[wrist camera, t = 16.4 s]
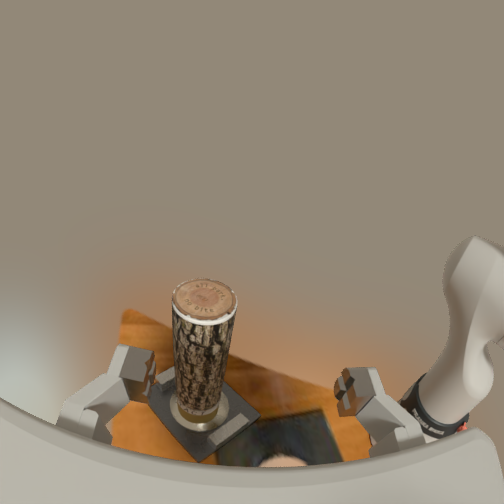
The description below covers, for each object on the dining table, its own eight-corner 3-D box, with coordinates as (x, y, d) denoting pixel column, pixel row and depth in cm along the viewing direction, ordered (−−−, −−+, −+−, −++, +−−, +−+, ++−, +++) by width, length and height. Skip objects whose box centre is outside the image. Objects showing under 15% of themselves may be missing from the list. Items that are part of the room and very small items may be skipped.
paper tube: (194, 385, 45) (201, 270, 33) (226, 406, 43) (250, 297, 30) (169, 408, 40) (158, 297, 27) (201, 433, 37) (209, 332, 25)
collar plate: (260, 417, 43) (264, 408, 41) (198, 463, 34) (198, 457, 32) (201, 361, 52) (201, 350, 50) (140, 394, 42) (137, 384, 40)
